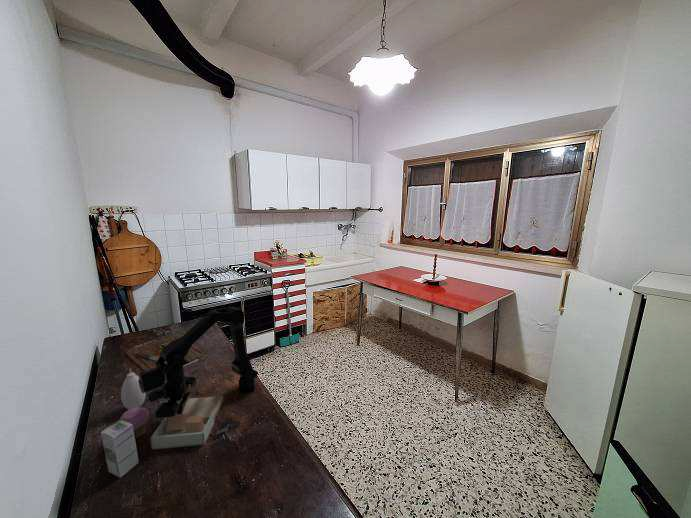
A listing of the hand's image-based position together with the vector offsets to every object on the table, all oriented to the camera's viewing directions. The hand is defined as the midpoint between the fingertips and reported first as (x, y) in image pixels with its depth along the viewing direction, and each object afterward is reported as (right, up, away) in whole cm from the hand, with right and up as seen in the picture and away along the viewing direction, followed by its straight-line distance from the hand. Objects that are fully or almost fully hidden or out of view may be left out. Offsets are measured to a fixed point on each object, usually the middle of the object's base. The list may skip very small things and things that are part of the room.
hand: (179, 415), depth 102 cm
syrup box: (-7, -7, -17) cm, 20 cm away
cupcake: (-13, -5, -5) cm, 14 cm away
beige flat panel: (+3, -3, +6) cm, 8 cm away
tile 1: (+1, -2, -2) cm, 2 cm away
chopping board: (-40, +5, +52) cm, 65 cm away
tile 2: (+8, -1, -2) cm, 8 cm away
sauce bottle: (-24, -2, +9) cm, 25 cm away
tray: (+5, -5, -5) cm, 8 cm away
